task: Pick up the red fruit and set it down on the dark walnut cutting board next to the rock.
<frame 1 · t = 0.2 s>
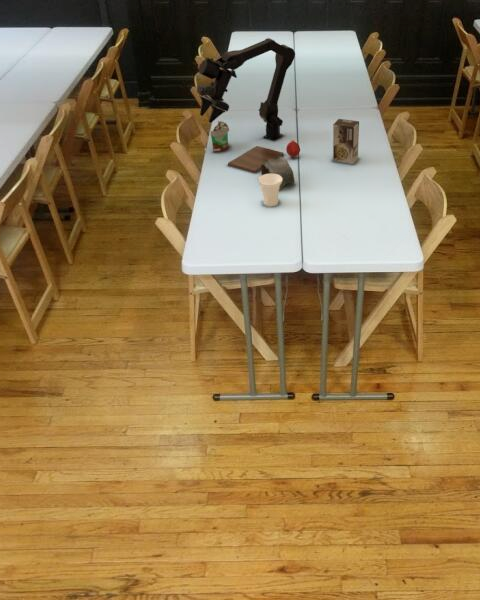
hand: (205, 118, 261), 15 cm above the table, tool tilted 30°, fingers open, 9 cm apart
red fruit: (293, 158, 264), on the table
cup: (271, 203, 233), on the table
cutting board: (256, 160, 262), on the table
food container: (223, 148, 273), on the table
coffee box: (345, 160, 260), on the table
rock: (277, 182, 246), on the table
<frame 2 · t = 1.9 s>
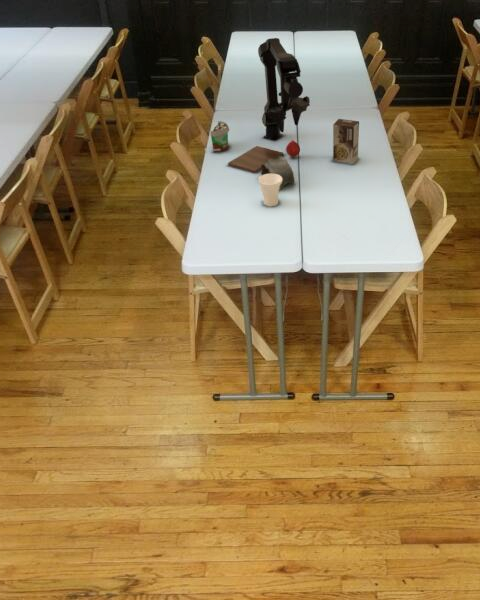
hand: (289, 128, 255), 13 cm above the table, tool pointing down, fingers open, 9 cm apart
nothing on the table moved.
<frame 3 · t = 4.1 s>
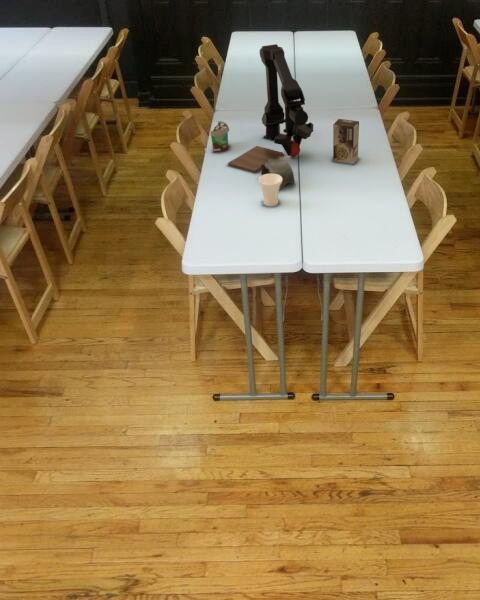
hand: (293, 153, 262), 2 cm above the table, tool pointing down, fingers closed on red fruit, 6 cm apart
red fruit: (293, 158, 264), on the table, touching gripper
everything else where it was.
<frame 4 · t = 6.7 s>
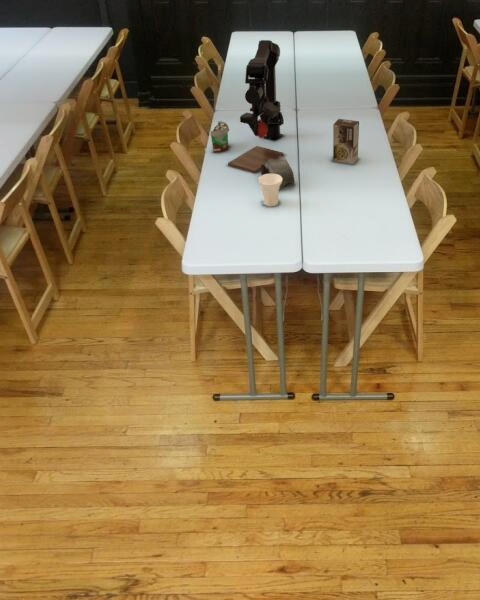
hand: (260, 133, 255), 12 cm above the table, tool pointing down, fingers closed on red fruit, 6 cm apart
red fruit: (261, 138, 256), point 10 cm above the table, touching gripper
everything else where it was.
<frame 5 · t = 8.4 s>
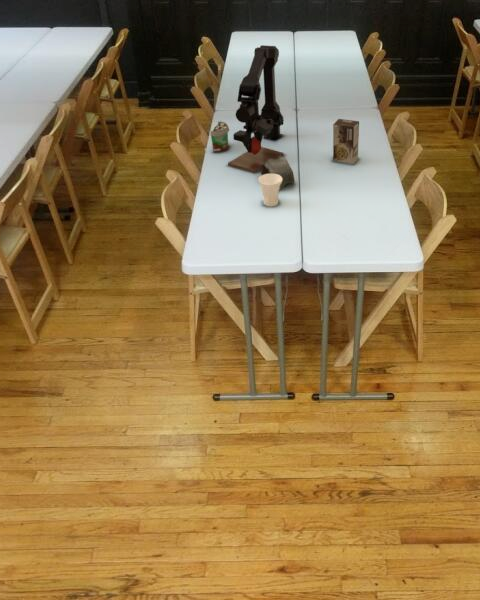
hand: (254, 150, 259), 5 cm above the table, tool pointing down, fingers closed on red fruit, 6 cm apart
red fruit: (254, 155, 260), point 3 cm above the table, touching gripper
everything else where it was.
when the fingers open (3 cm above the table, at t = 9.4 s): red fruit stays where it is, resting on cutting board.
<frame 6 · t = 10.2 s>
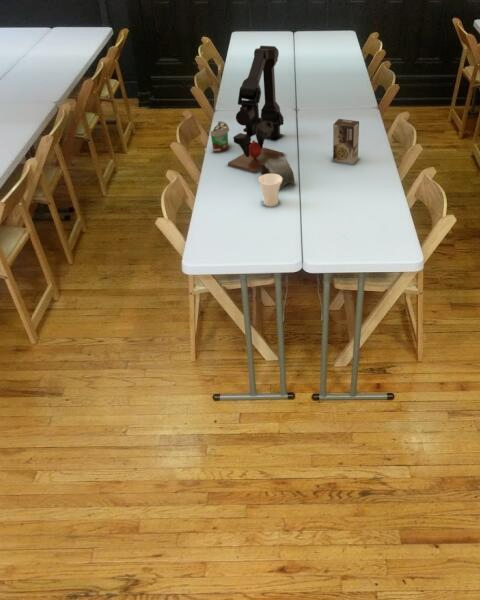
hand: (254, 152, 260), 4 cm above the table, tool pointing down, fingers open, 9 cm apart
red fruit: (254, 158, 261), point 1 cm above the table, touching cutting board
everything else where it was.
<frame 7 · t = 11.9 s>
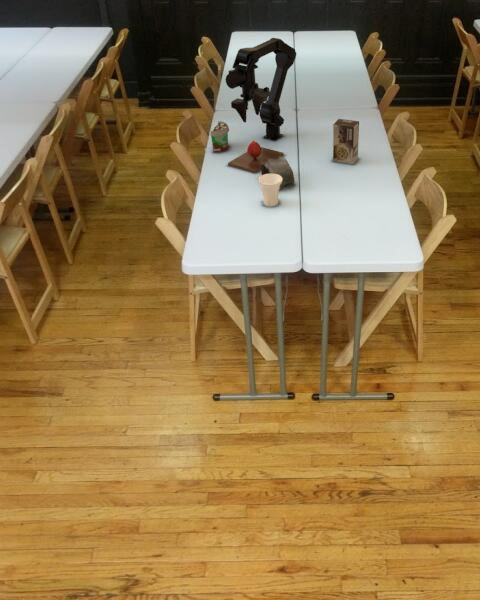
hand: (251, 118, 266), 13 cm above the table, tool pointing down, fingers open, 9 cm apart
nothing on the table moved.
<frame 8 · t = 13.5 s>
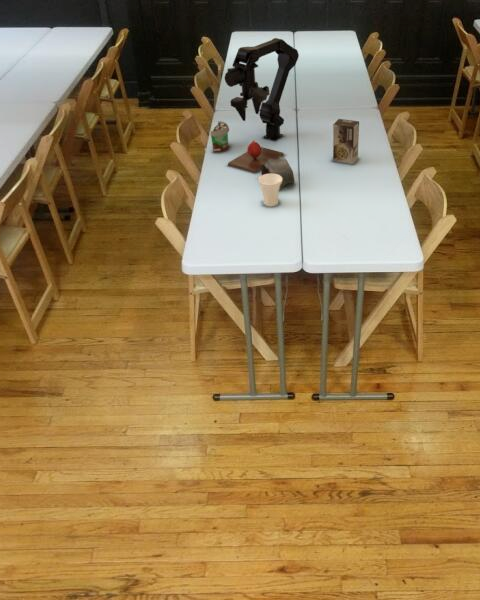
hand: (250, 117, 266), 13 cm above the table, tool pointing down, fingers open, 9 cm apart
nothing on the table moved.
at the end: red fruit inside the target area on the cutting board (0.8 cm from its centre), point 1.0 cm above the cutting board's base; red fruit 22.0 cm from the rock (horizontally); the gripper is holding nothing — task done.
